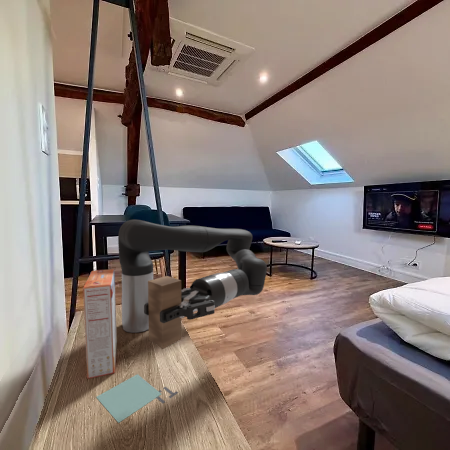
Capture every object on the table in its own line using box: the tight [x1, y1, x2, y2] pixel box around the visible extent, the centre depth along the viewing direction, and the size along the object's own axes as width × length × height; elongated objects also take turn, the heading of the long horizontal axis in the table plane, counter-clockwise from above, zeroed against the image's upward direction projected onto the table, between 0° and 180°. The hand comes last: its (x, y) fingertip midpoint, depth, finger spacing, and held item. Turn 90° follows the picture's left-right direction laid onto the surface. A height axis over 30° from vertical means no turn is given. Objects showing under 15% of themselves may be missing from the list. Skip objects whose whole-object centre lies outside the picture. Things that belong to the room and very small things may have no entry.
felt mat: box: [96, 373, 162, 424], centre depth 51 cm, size 9×9×1 cm
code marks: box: [156, 386, 179, 404], centre depth 51 cm, size 3×4×1 cm
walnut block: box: [148, 275, 182, 350], centre depth 50 cm, size 4×4×12 cm
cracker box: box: [82, 268, 118, 380], centre depth 62 cm, size 14×6×21 cm, turn 21°
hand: (153, 313), depth 48 cm, fingers closed on walnut block, 4 cm apart
